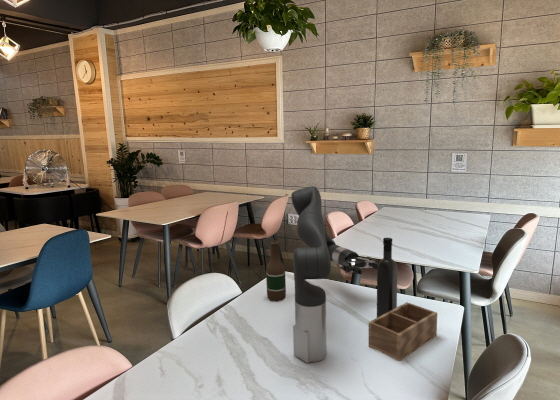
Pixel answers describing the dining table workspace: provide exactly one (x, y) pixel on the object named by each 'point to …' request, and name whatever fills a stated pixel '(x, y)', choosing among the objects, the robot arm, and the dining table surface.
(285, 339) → the dining table surface
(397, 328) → the bottle rack
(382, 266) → the wine bottle
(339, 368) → the dining table surface
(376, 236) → the dining table surface
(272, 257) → the beer bottle
